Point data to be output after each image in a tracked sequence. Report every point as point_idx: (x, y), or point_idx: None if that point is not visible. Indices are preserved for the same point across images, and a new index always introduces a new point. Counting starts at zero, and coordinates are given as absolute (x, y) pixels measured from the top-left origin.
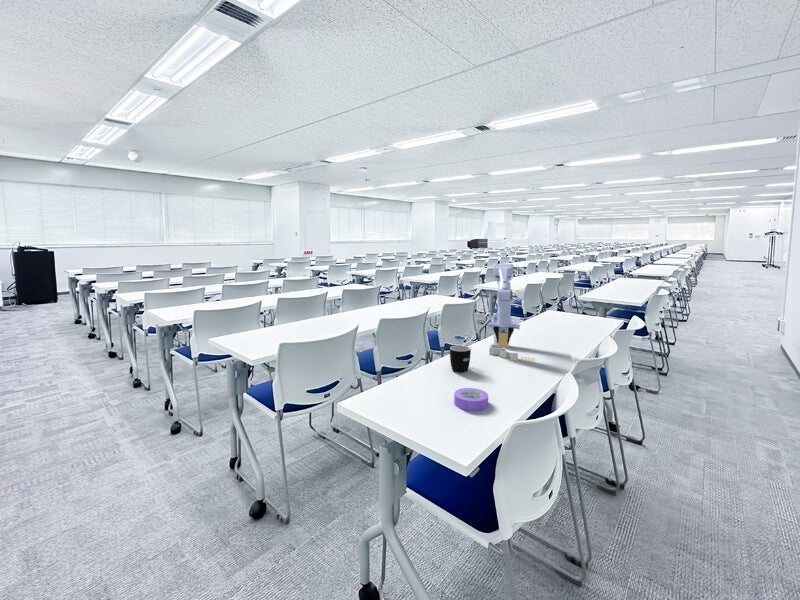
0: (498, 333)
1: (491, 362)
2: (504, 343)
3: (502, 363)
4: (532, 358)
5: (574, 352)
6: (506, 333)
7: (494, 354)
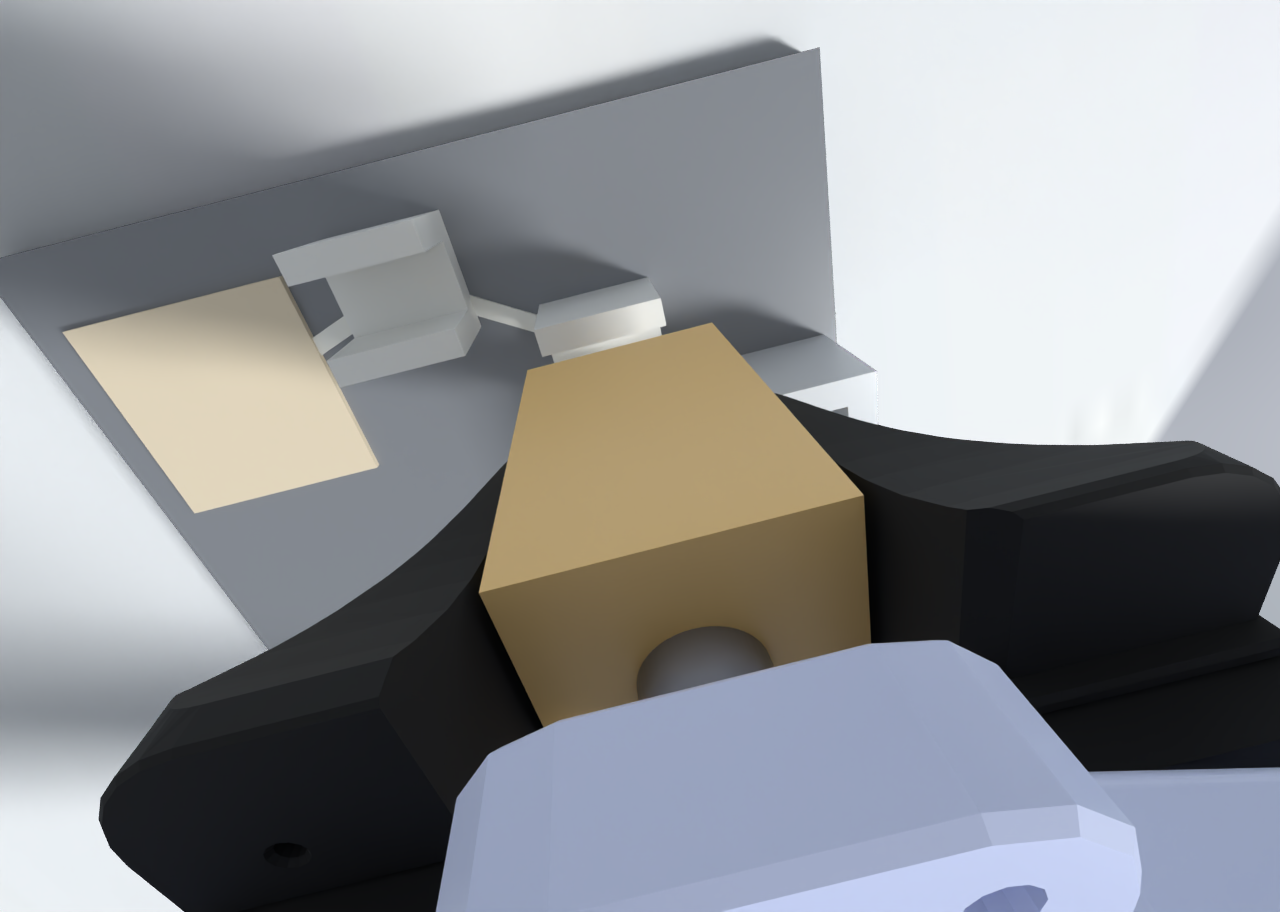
0: (865, 476)
1: (728, 47)
2: (589, 388)
3: (544, 92)
4: (196, 477)
5: (43, 902)
6: (534, 573)
7: (751, 358)
